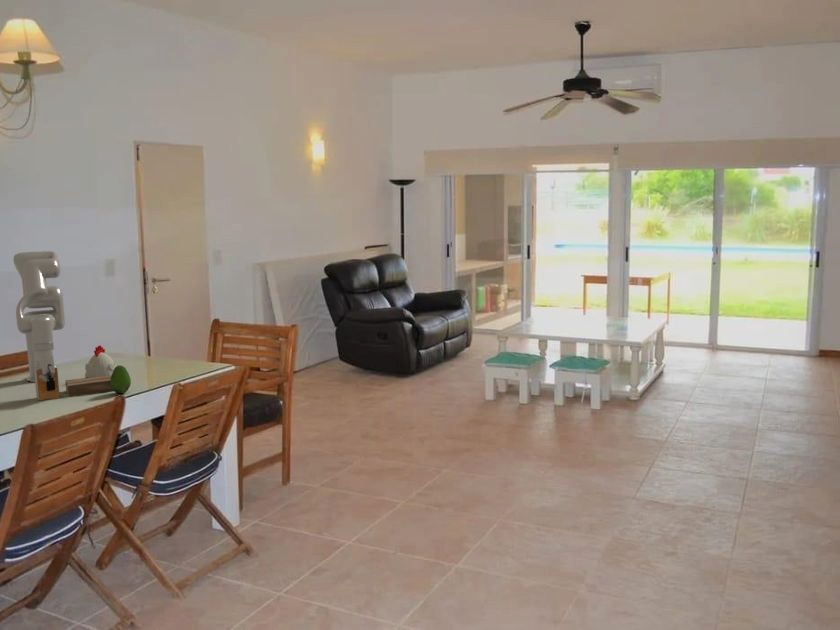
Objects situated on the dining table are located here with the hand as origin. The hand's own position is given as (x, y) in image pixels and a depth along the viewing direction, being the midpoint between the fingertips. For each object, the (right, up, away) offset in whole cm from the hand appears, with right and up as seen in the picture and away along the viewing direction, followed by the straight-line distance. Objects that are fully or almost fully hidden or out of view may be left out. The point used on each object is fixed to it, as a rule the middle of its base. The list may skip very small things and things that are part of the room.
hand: (47, 388), depth 328 cm
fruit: (+28, -3, +6) cm, 29 cm away
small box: (0, -4, +1) cm, 4 cm away
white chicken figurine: (+8, +1, +37) cm, 38 cm away
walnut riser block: (+13, -2, +12) cm, 18 cm away
